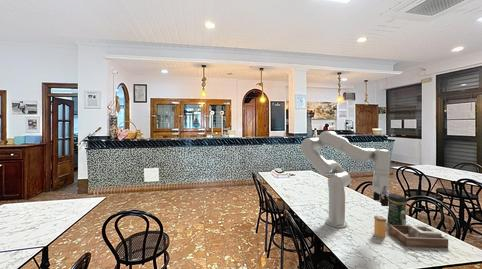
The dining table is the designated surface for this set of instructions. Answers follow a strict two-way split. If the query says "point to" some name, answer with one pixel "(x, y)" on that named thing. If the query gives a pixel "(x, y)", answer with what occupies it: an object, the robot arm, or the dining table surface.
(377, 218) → the connector
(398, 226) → the walled box
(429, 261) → the dining table surface
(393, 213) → the coffee jar
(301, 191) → the dining table surface
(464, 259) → the dining table surface
